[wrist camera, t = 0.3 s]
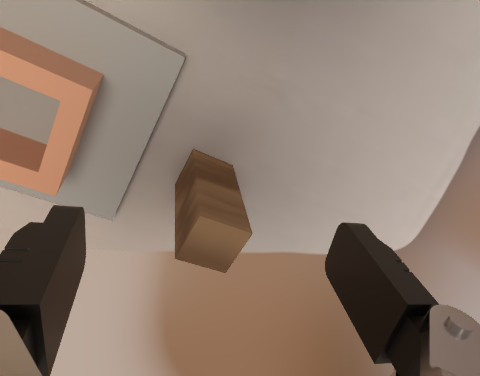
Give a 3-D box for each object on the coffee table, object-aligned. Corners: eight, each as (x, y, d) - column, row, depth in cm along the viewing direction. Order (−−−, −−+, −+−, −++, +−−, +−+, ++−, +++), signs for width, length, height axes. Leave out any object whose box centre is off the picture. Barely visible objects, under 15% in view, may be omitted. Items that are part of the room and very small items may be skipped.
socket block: (-107, -101, 20) (-194, -122, 15) (184, 53, 26) (186, 71, 22) (-124, 135, 26) (-188, 171, 21) (114, 211, 33) (104, 250, 28)
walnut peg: (193, 149, 31) (200, 215, 22) (232, 165, 32) (252, 233, 24) (175, 184, 32) (174, 258, 24) (213, 198, 34) (225, 273, 25)
